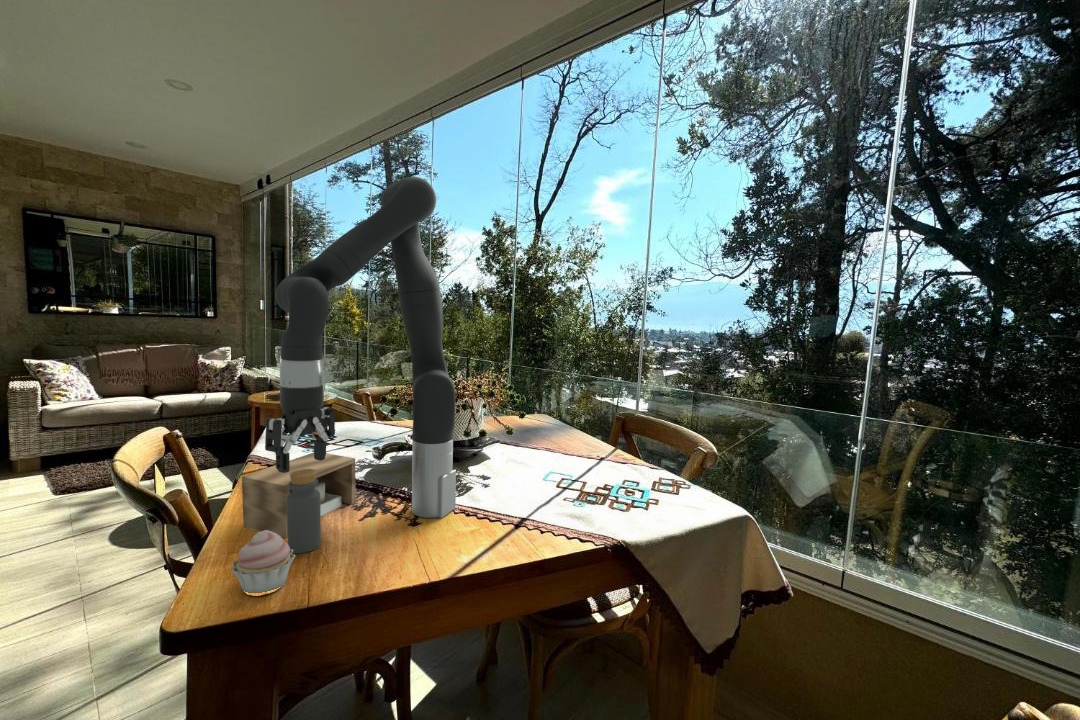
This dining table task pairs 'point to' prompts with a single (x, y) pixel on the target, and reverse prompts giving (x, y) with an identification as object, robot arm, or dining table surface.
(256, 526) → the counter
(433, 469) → the robot arm
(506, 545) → the dining table surface
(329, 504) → the shelved tray
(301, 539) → the bottle
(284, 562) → the cupcake
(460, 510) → the dining table surface
